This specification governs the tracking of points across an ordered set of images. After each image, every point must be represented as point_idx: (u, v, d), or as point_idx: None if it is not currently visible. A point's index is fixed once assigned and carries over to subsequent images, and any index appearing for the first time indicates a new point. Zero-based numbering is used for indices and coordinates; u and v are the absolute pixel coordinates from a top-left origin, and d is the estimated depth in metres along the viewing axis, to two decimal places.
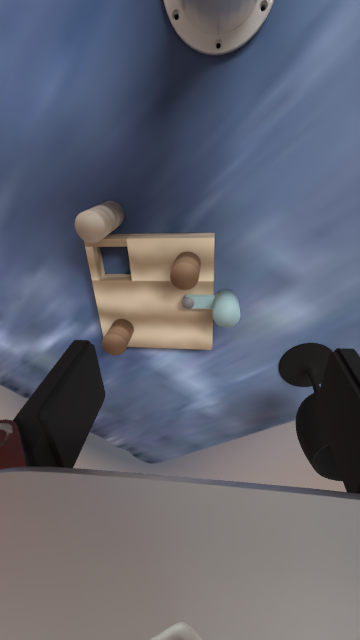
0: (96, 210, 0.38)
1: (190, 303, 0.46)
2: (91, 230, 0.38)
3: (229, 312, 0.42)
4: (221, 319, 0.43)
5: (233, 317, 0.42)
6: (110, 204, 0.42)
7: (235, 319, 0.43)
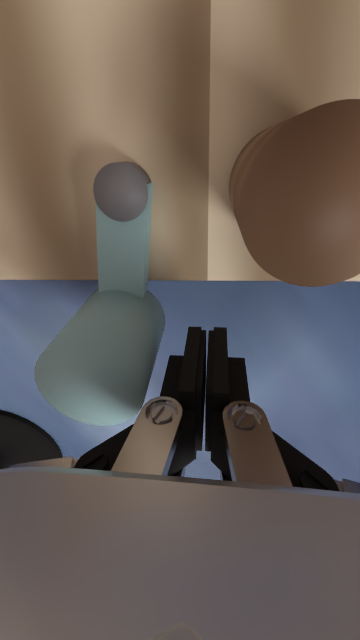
0: None
1: (119, 205, 0.11)
2: None
3: (105, 398, 0.11)
4: (68, 368, 0.10)
5: (84, 405, 0.11)
6: None
7: (75, 410, 0.11)
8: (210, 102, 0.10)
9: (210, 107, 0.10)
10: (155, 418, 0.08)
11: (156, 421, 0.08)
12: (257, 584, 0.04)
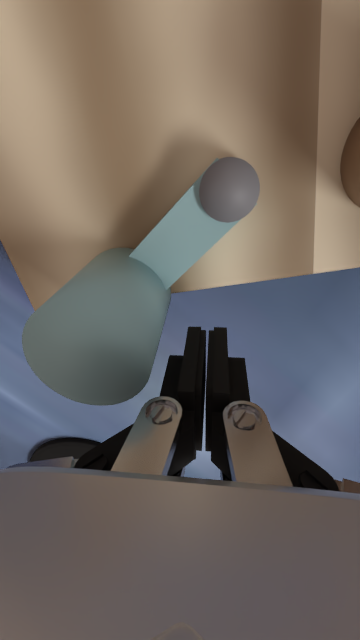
0: None
1: (219, 200, 0.10)
2: None
3: (93, 375, 0.09)
4: (81, 329, 0.08)
5: (63, 370, 0.09)
6: None
7: (48, 369, 0.09)
8: (320, 74, 0.09)
9: (320, 79, 0.09)
10: (155, 418, 0.08)
11: (156, 421, 0.08)
12: (257, 584, 0.04)
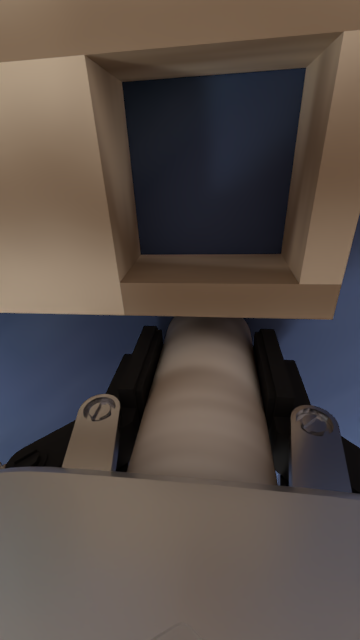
0: None
1: None
2: None
3: None
4: None
5: None
6: None
7: None
8: None
9: None
10: (94, 416, 0.08)
11: (96, 419, 0.08)
12: (257, 584, 0.04)
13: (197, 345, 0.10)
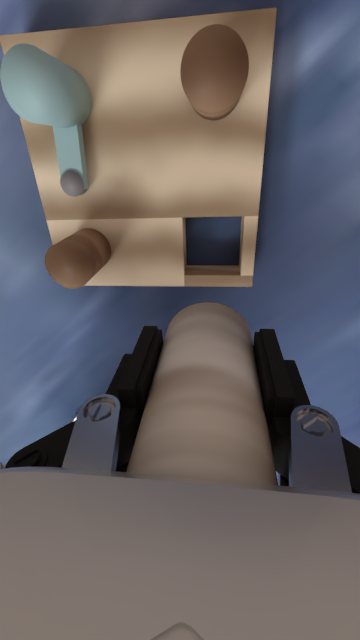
0: None
1: (70, 178, 0.25)
2: None
3: (21, 76, 0.18)
4: (44, 100, 0.19)
5: (31, 65, 0.18)
6: None
7: (35, 57, 0.18)
8: (113, 219, 0.27)
9: (112, 219, 0.27)
10: (94, 416, 0.08)
11: (96, 418, 0.08)
12: (257, 584, 0.04)
13: (197, 344, 0.10)
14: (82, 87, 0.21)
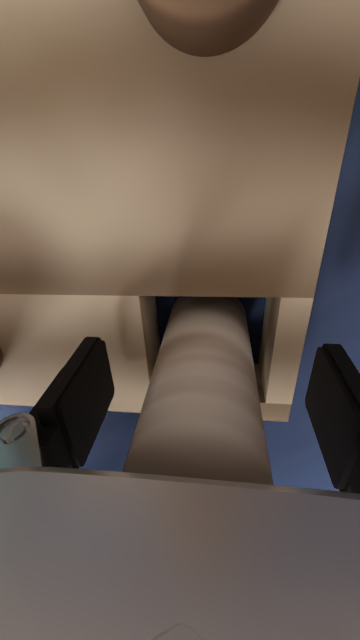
0: None
1: None
2: None
3: None
4: None
5: None
6: None
7: None
8: None
9: None
10: (7, 439, 0.08)
11: (10, 440, 0.08)
12: (257, 584, 0.04)
13: (198, 317, 0.12)
14: None
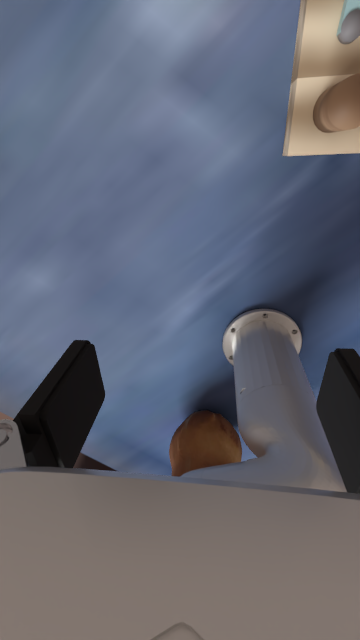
0: None
1: (355, 18, 0.26)
2: None
3: None
4: None
5: None
6: None
7: None
8: None
9: None
10: None
11: None
12: (257, 584, 0.04)
13: None
14: None
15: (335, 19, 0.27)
